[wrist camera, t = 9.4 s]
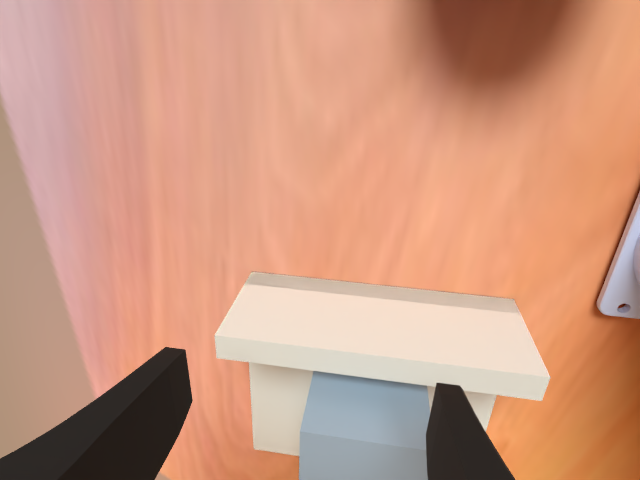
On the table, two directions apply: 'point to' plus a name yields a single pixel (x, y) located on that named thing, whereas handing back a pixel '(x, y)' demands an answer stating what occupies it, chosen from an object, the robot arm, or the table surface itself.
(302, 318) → the board
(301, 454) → the block
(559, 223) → the table surface
